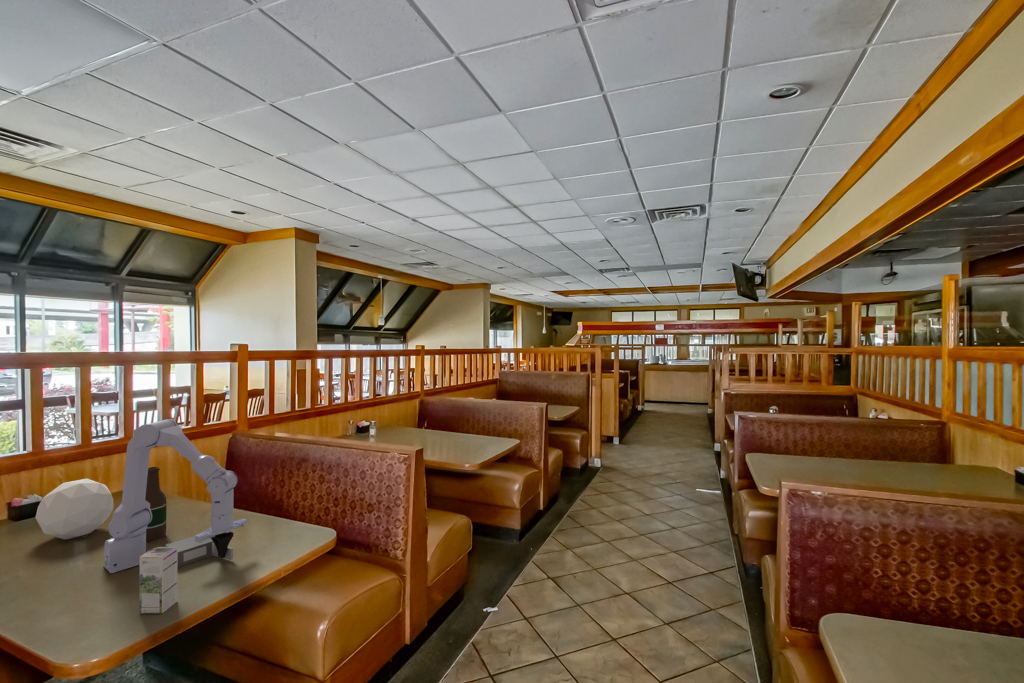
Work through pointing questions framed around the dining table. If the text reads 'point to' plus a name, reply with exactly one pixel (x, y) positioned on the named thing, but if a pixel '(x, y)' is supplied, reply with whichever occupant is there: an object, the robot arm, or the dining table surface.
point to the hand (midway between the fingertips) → (221, 557)
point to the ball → (74, 509)
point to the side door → (228, 552)
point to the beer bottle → (155, 506)
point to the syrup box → (158, 580)
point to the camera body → (191, 550)
